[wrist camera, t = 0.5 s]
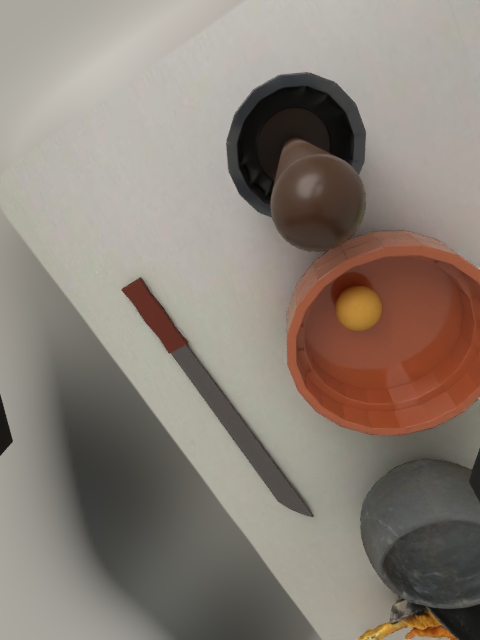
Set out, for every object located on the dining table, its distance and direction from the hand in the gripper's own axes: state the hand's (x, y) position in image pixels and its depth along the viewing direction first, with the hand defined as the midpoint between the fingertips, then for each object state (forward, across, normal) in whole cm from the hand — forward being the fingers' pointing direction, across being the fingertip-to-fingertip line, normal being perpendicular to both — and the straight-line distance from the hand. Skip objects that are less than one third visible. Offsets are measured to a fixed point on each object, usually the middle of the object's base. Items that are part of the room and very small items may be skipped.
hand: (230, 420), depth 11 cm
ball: (+26, +8, -7) cm, 28 cm away
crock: (+29, +2, +6) cm, 29 cm away
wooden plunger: (+28, +2, +6) cm, 28 cm away
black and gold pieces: (+29, +21, -48) cm, 60 cm away
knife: (+29, -4, -22) cm, 36 cm away
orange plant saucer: (+29, +11, -10) cm, 32 cm away
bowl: (+29, +19, -30) cm, 46 cm away
